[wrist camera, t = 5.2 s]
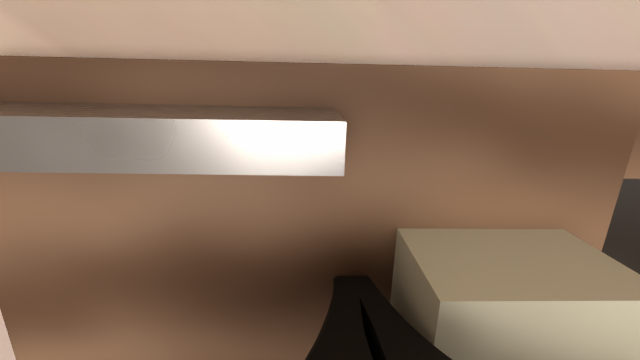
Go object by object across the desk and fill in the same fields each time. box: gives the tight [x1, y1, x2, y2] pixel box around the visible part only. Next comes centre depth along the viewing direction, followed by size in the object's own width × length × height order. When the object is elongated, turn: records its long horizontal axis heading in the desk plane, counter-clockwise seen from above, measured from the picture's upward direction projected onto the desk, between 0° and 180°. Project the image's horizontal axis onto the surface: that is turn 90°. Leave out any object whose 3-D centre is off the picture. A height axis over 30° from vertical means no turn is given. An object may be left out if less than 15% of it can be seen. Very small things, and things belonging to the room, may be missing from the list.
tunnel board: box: [0, 56, 640, 360], centre depth 14 cm, size 16×31×2 cm, turn 89°
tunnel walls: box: [0, 101, 347, 176], centre depth 10 cm, size 13×11×4 cm
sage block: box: [390, 228, 640, 360], centre depth 11 cm, size 5×6×4 cm
